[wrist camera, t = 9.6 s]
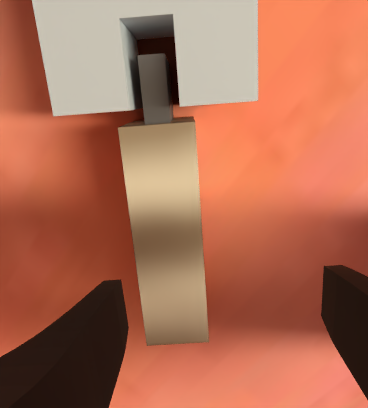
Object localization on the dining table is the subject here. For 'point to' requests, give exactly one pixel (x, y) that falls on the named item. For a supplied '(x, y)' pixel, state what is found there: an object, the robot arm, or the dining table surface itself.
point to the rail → (165, 212)
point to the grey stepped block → (128, 50)
